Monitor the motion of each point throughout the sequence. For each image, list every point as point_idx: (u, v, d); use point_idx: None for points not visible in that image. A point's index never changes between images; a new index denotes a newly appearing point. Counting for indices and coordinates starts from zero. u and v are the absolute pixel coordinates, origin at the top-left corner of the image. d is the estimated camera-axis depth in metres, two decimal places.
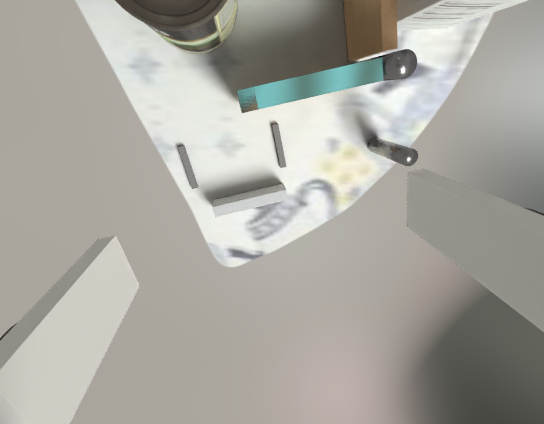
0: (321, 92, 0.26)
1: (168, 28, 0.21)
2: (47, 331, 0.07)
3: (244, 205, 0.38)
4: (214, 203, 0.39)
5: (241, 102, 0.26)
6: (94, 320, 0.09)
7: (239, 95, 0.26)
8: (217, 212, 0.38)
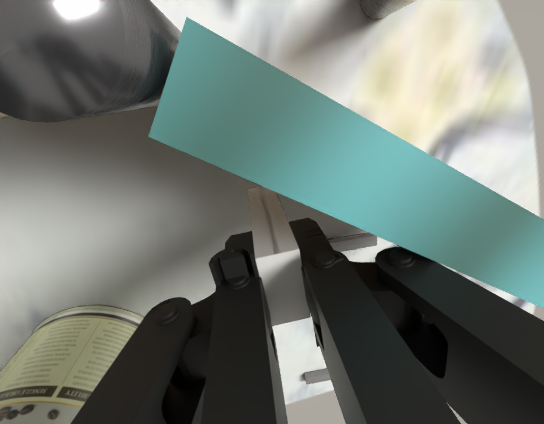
0: (461, 186, 0.06)
1: None
2: None
3: None
4: None
5: None
6: None
7: None
8: None
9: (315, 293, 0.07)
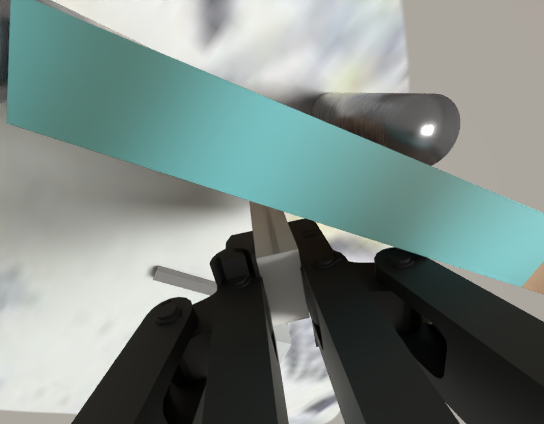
0: (360, 149, 0.06)
1: None
2: None
3: None
4: None
5: None
6: None
7: None
8: None
9: (314, 293, 0.07)
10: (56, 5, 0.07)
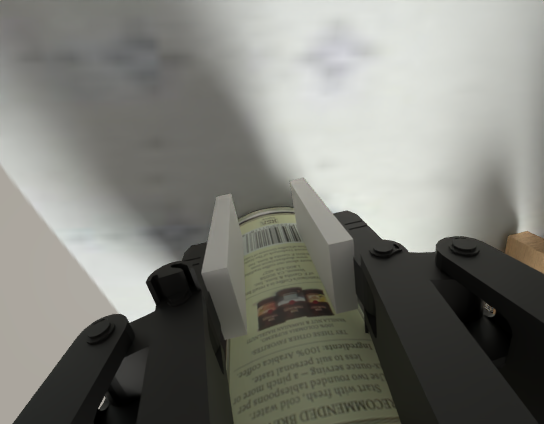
0: None
1: None
2: (230, 248, 0.10)
3: None
4: None
5: None
6: (238, 253, 0.11)
7: None
8: None
9: (373, 280, 0.07)
10: None
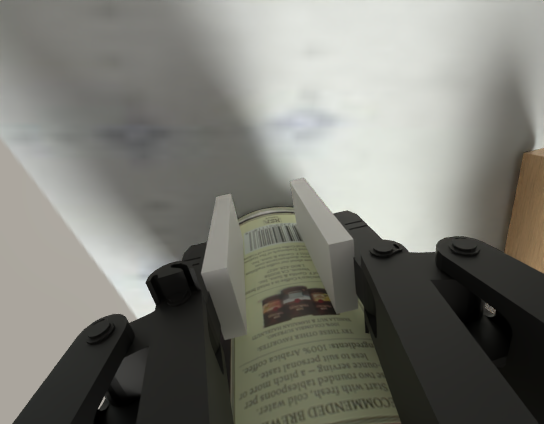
0: None
1: None
2: (230, 248, 0.10)
3: None
4: None
5: None
6: (238, 253, 0.11)
7: None
8: None
9: (373, 280, 0.07)
10: None
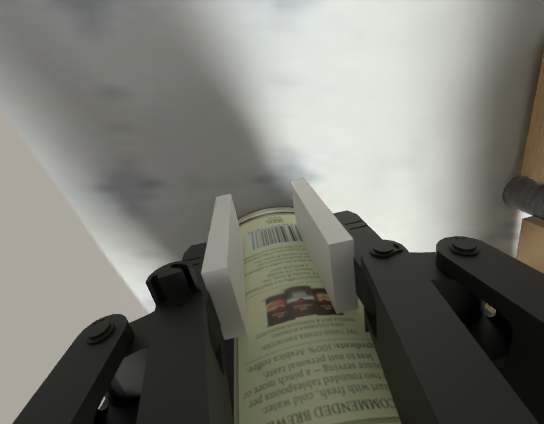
0: None
1: None
2: (230, 248, 0.10)
3: None
4: None
5: None
6: (238, 253, 0.11)
7: None
8: None
9: (373, 280, 0.07)
10: None
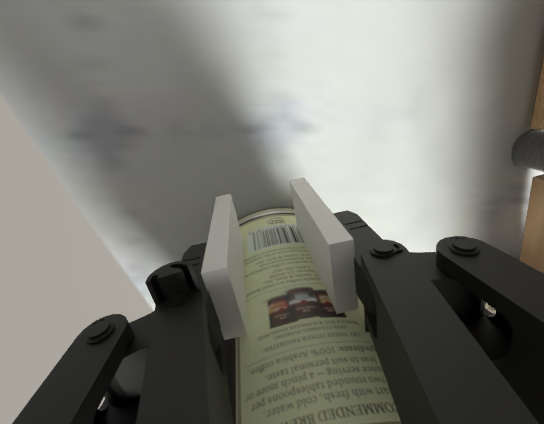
0: None
1: None
2: (230, 248, 0.10)
3: None
4: None
5: None
6: (238, 253, 0.11)
7: None
8: None
9: (373, 280, 0.07)
10: None
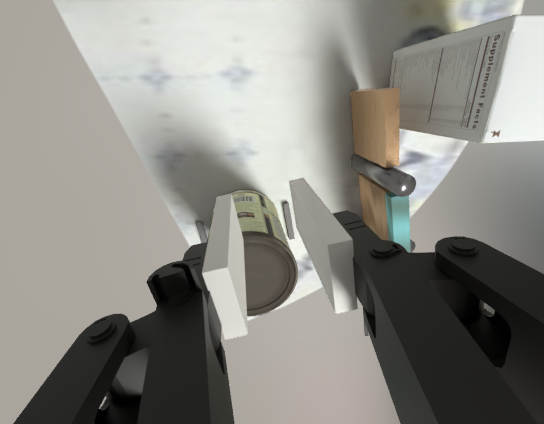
0: (408, 240, 0.33)
1: None
2: (231, 247, 0.10)
3: None
4: None
5: None
6: (238, 252, 0.11)
7: None
8: None
9: (372, 280, 0.07)
10: None
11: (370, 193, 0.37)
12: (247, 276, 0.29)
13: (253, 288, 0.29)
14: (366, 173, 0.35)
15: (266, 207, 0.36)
